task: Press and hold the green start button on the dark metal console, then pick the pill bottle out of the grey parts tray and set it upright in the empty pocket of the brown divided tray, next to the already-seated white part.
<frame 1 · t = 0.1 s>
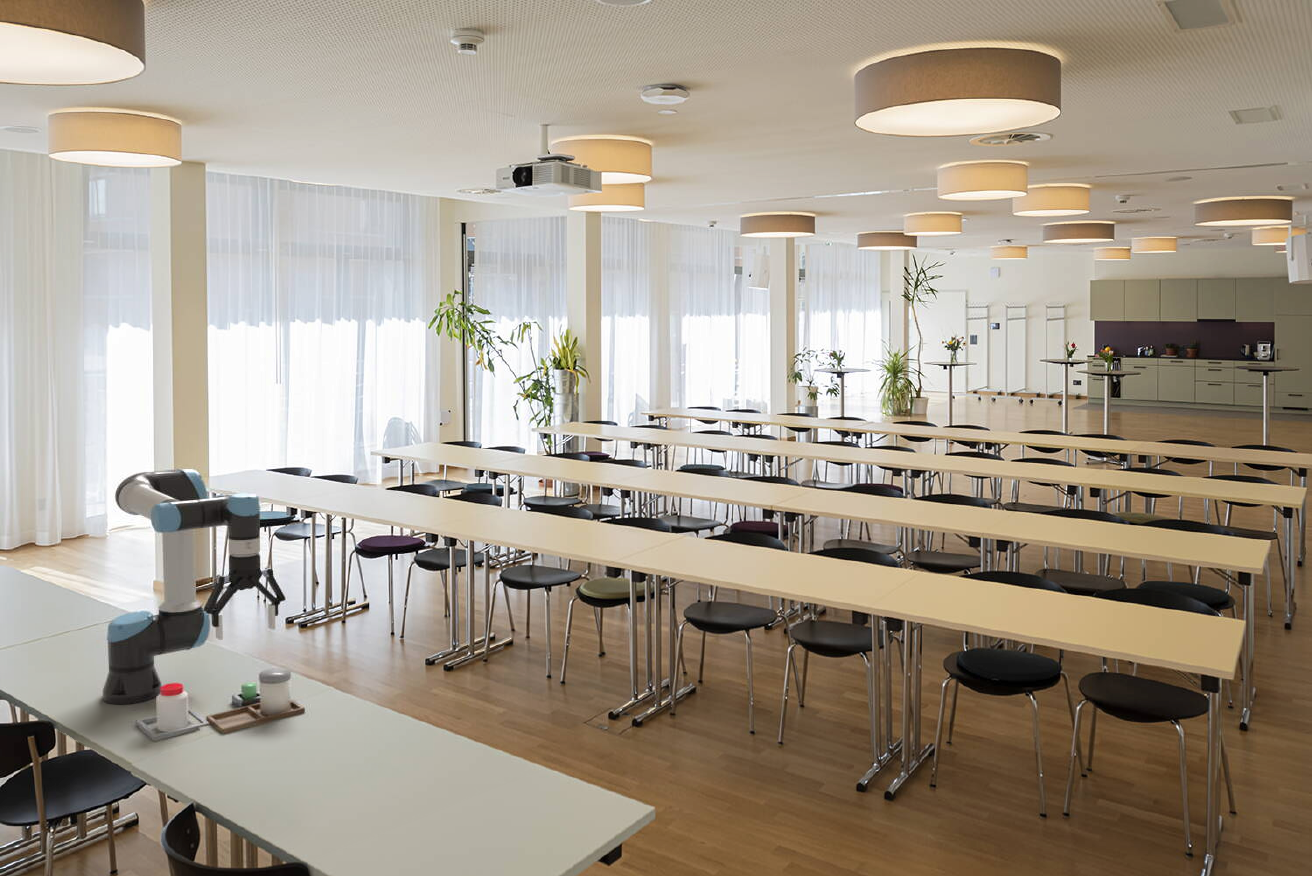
hand: (246, 633, 259), 28 cm above the table, fingers open, 13 cm apart
start button: (249, 692, 282), point 4 cm above the table, slide at 0.0 cm
seated part: (275, 711, 277), point 1 cm above the table, touching brown divided tray
pill bottle: (172, 726, 267), resting in parts tray
console: (249, 705, 283), on the table
parts tray: (172, 725, 267), on the table
brown divided tray: (256, 718, 273), on the table
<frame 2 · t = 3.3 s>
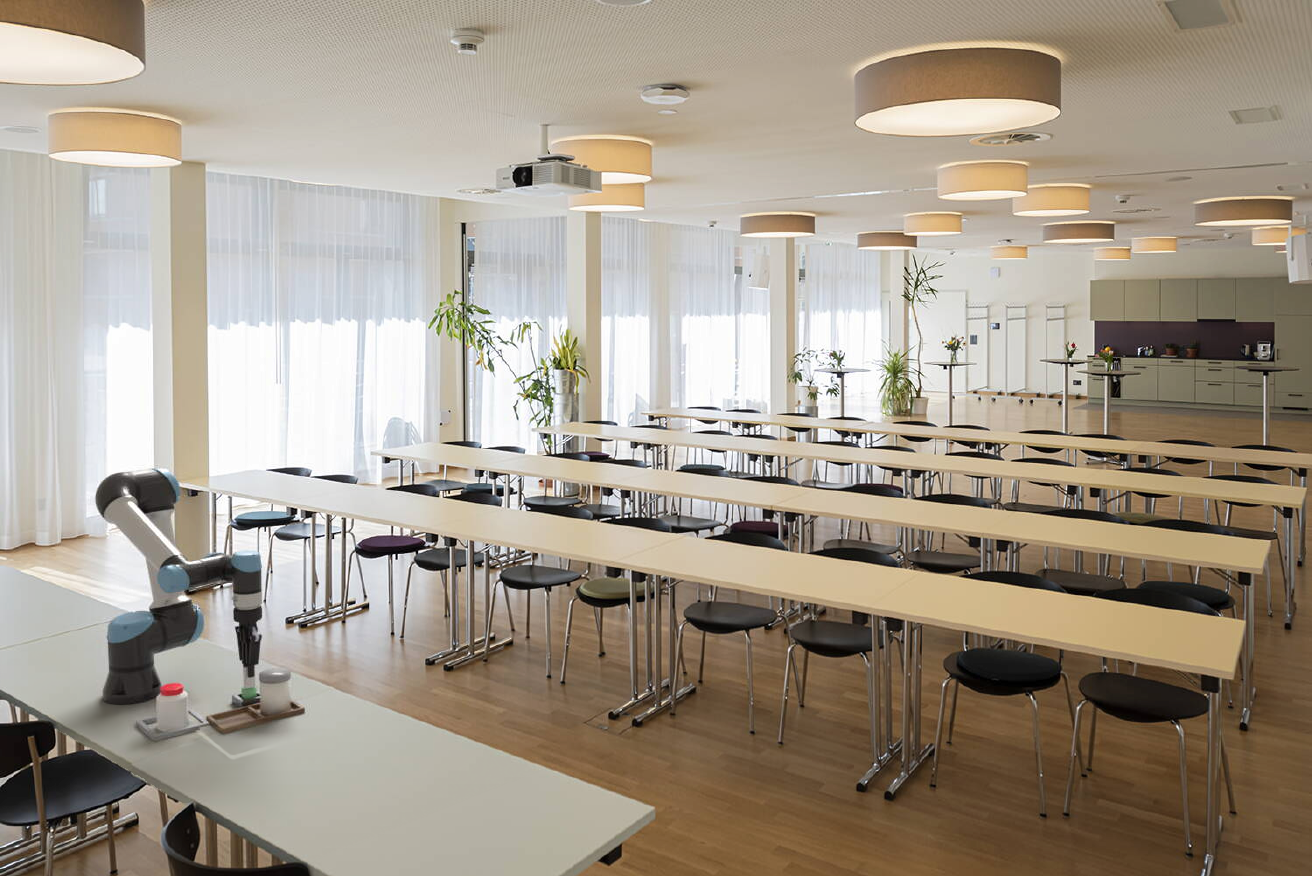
hand: (249, 687, 282), 5 cm above the table, fingers closed
start button: (249, 694, 282), point 3 cm above the table, slide at 0.8 cm, touching gripper
everything else where it was.
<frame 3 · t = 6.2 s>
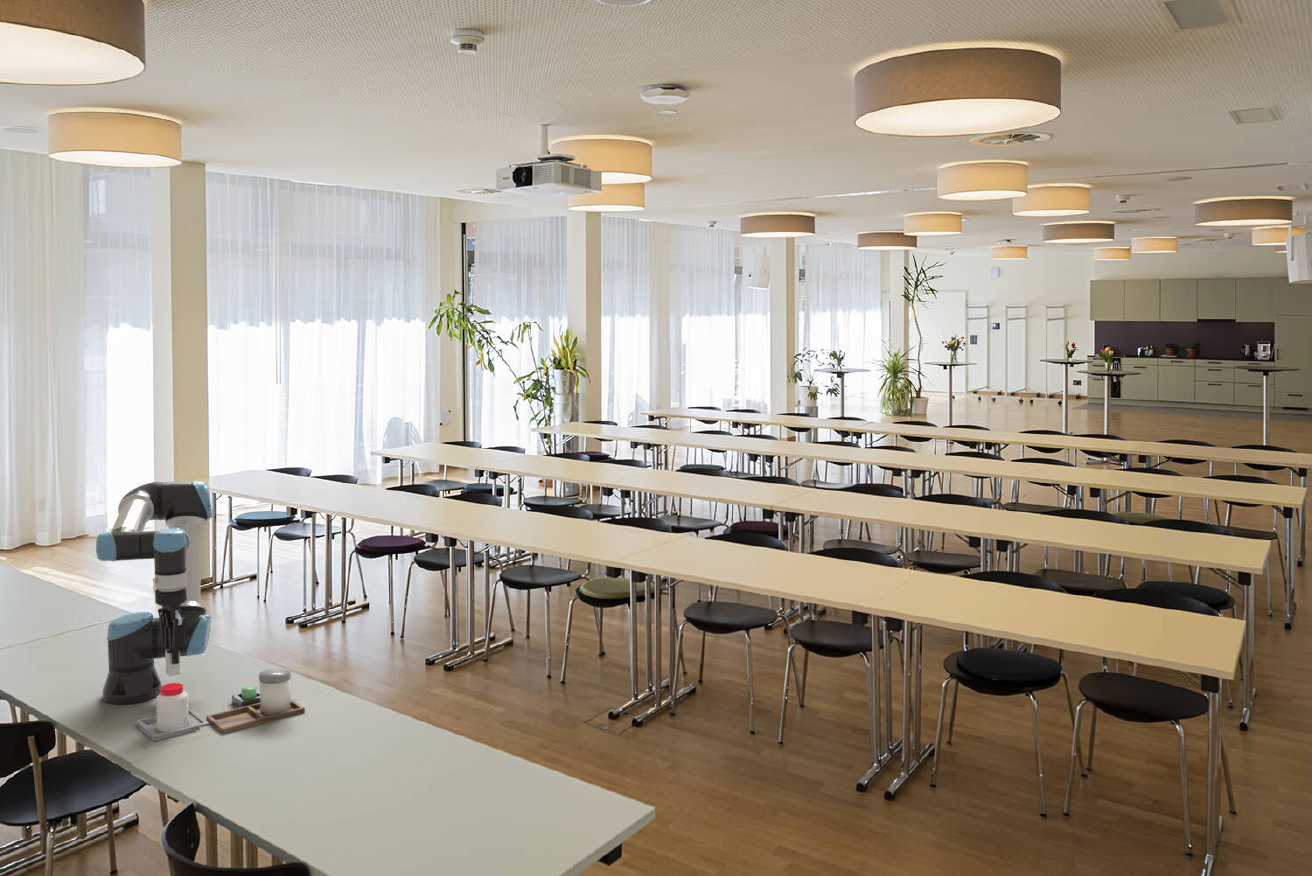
hand: (173, 673, 266), 14 cm above the table, fingers closed
start button: (249, 695, 282), point 3 cm above the table, slide at 1.0 cm
everything else where it was.
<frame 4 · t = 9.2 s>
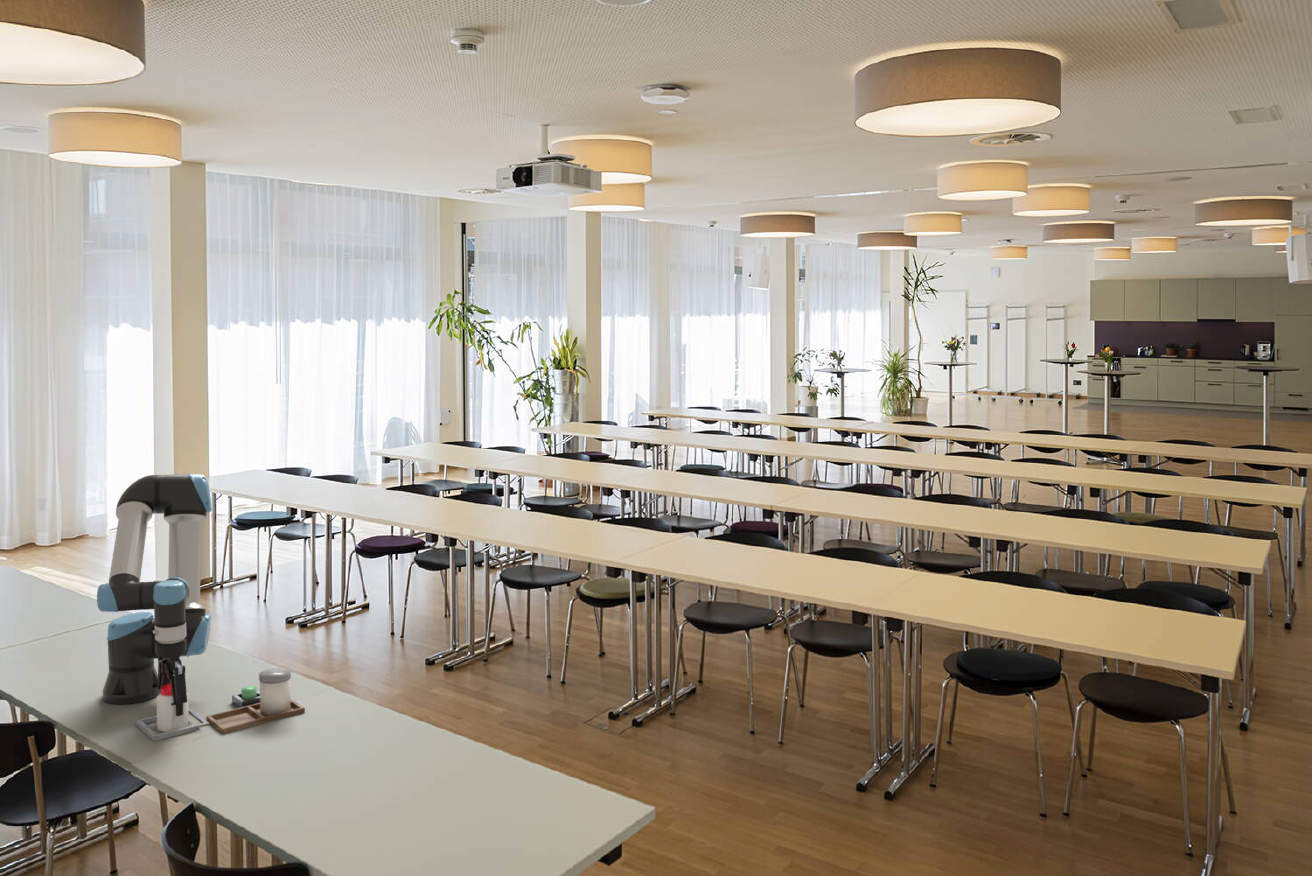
hand: (172, 721, 267), 1 cm above the table, fingers closed on pill bottle, 8 cm apart
pill bottle: (173, 726, 267), resting in parts tray, touching gripper
everything else where it was.
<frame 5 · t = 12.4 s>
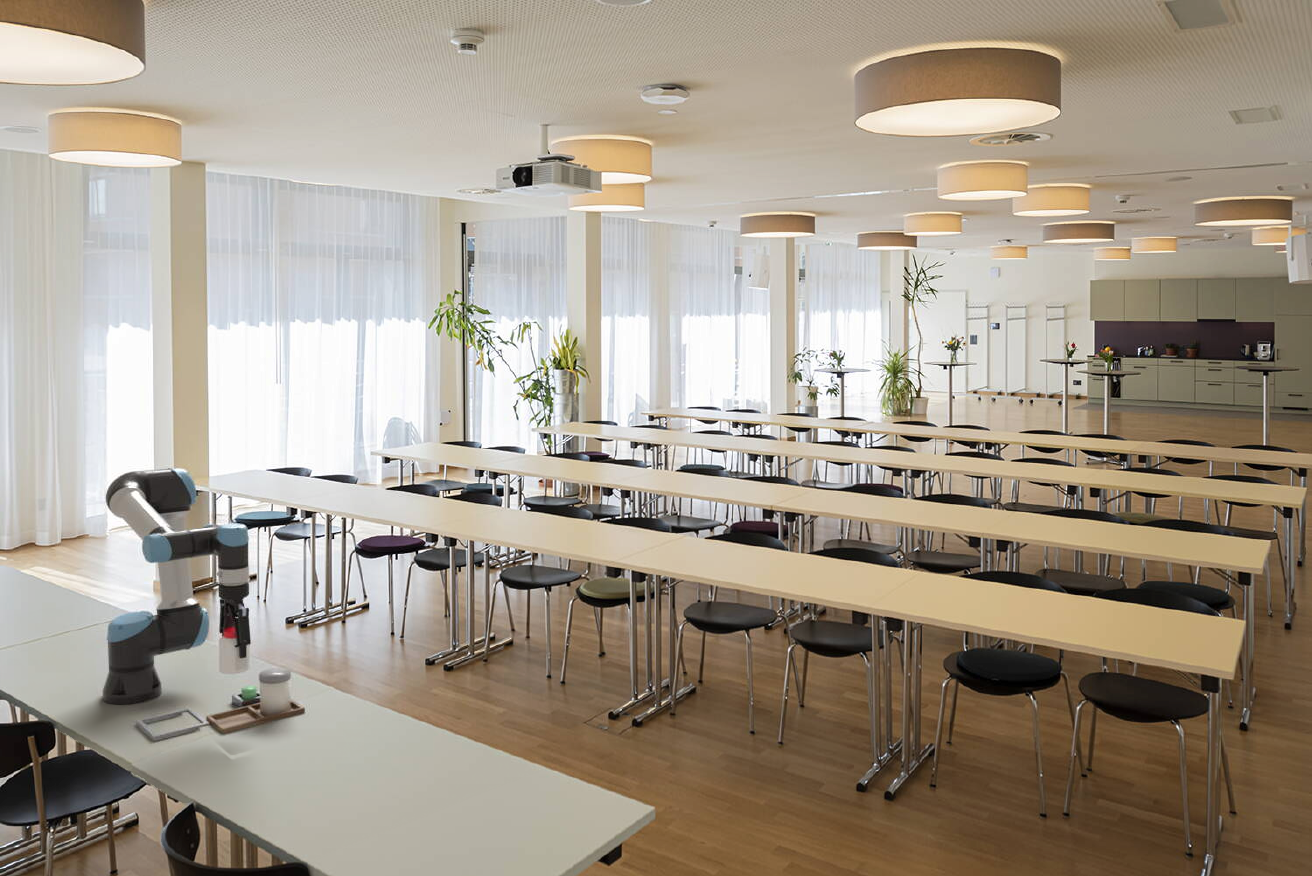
hand: (235, 664, 268), 17 cm above the table, fingers closed on pill bottle, 8 cm apart
pill bottle: (235, 669, 268), point 15 cm above the table, touching gripper
everything else where it was.
when the fingers open (3 cm above the table, at t = 15.6 s): pill bottle drops 1 cm, resting on brown divided tray.
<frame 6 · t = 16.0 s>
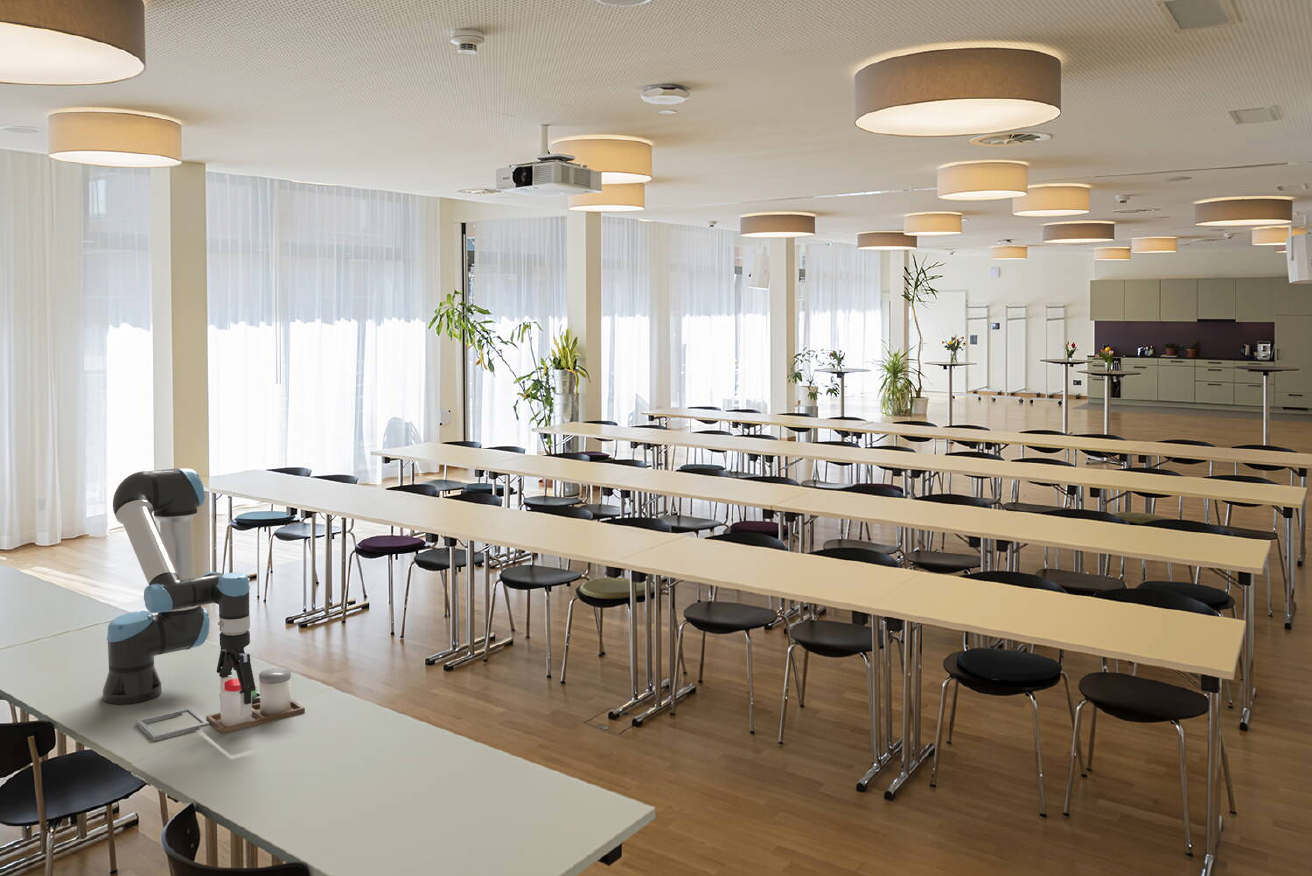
hand: (236, 707, 269), 5 cm above the table, fingers open, 13 cm apart
pill bottle: (236, 721, 270), point 1 cm above the table, touching brown divided tray
everything else where it was.
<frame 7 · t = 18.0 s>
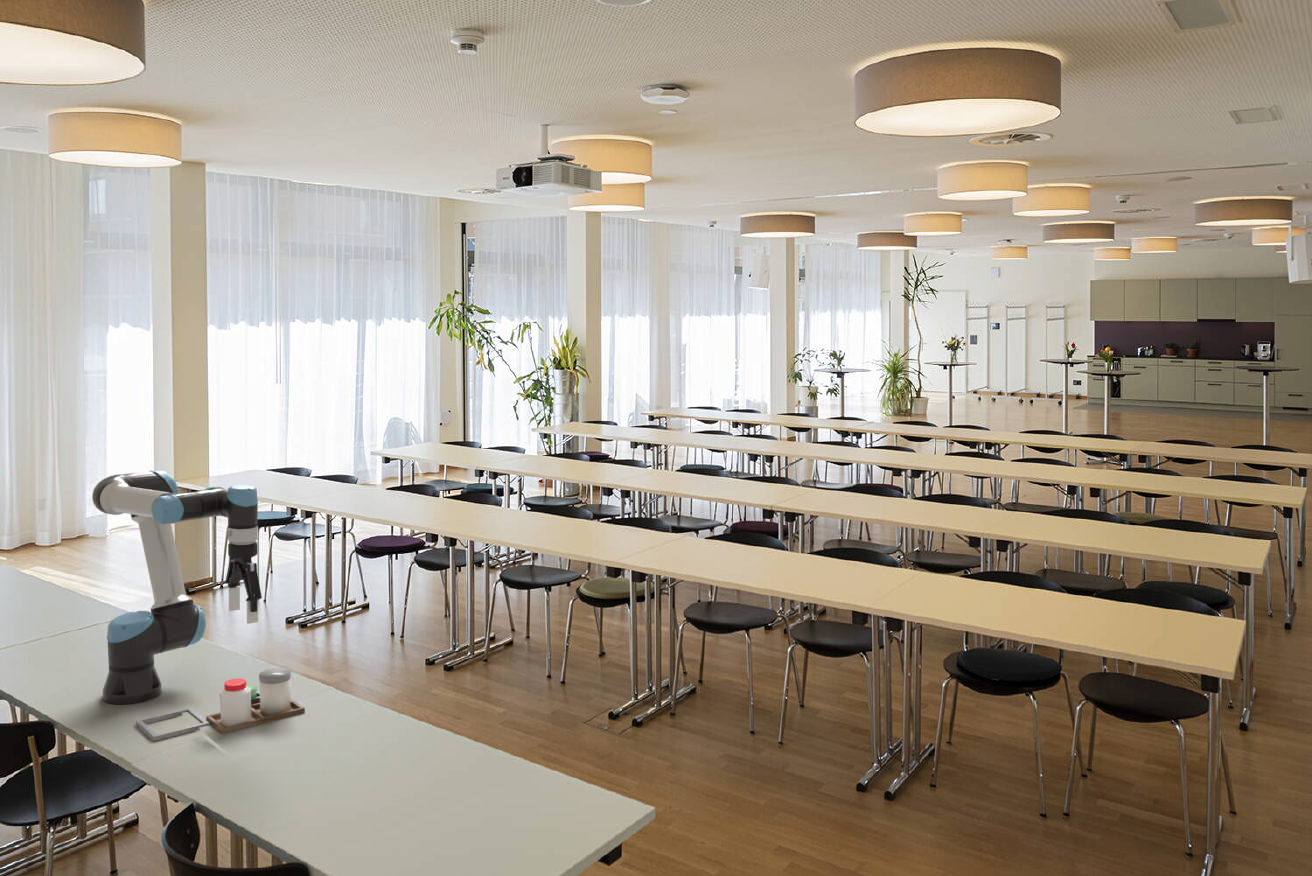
hand: (243, 616, 276), 27 cm above the table, fingers open, 13 cm apart
nothing on the table moved.
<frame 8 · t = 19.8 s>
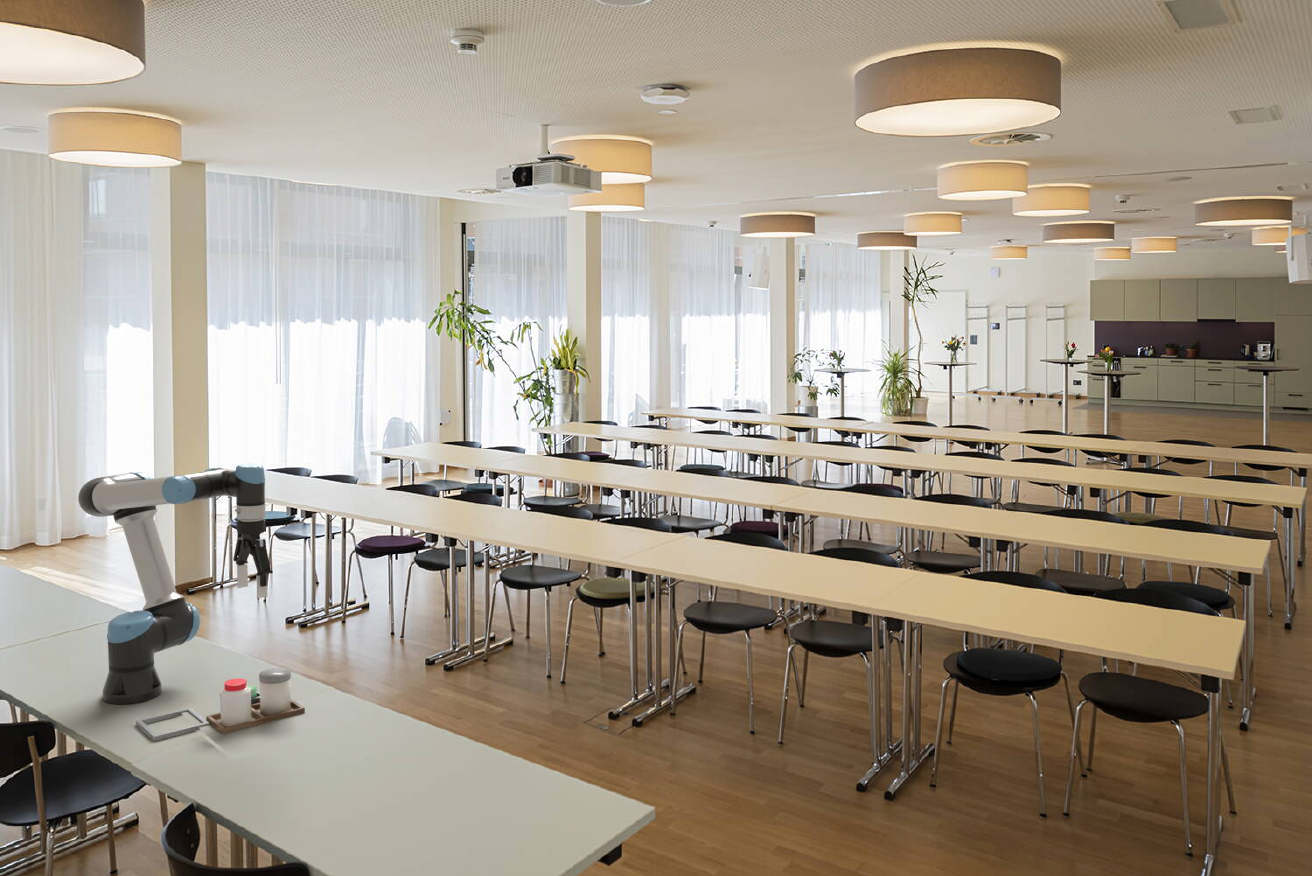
hand: (252, 592, 284), 32 cm above the table, fingers open, 13 cm apart
nothing on the table moved.
at the end: pill bottle 0.1 cm from the target spot on the brown divided tray, point 0.6 cm above the brown divided tray's base; pill bottle tilted 0°; start button slide at 1.0 cm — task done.
